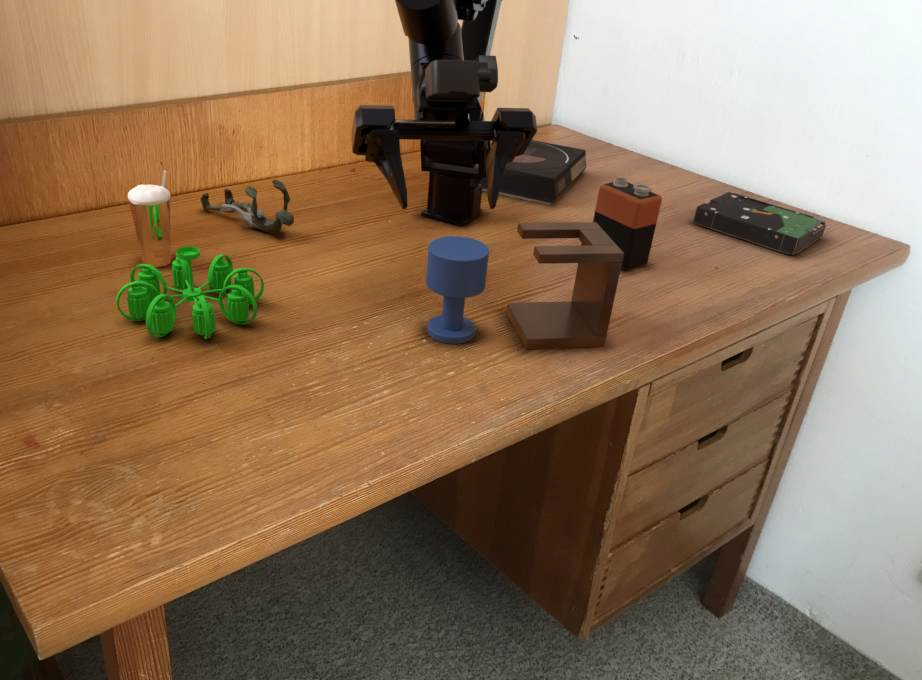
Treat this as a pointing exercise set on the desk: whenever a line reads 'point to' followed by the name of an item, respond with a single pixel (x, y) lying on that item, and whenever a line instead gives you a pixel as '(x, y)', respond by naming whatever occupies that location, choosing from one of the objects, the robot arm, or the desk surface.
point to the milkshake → (152, 222)
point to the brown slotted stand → (591, 294)
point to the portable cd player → (541, 172)
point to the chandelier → (190, 294)
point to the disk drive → (760, 222)
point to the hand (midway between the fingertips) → (449, 207)
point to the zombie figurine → (254, 209)
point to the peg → (455, 284)
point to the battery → (628, 218)
